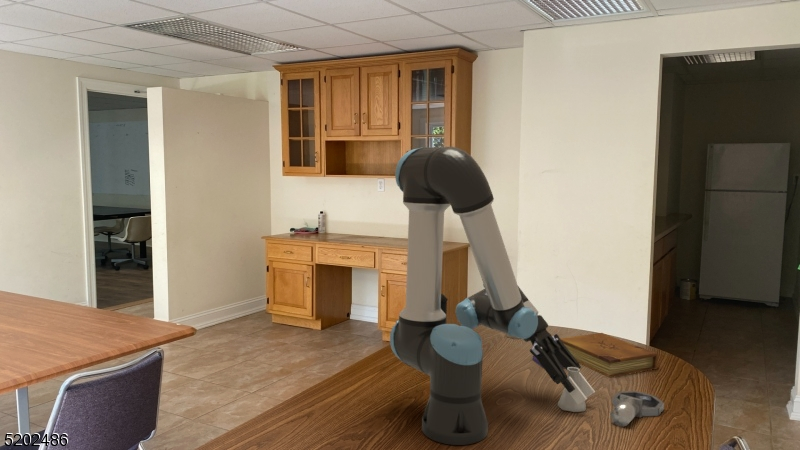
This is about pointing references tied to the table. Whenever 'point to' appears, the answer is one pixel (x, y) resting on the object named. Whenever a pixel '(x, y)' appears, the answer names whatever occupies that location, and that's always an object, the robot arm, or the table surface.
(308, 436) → the table surface
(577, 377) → the flask
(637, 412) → the octagonal metal scoop
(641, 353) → the diary
